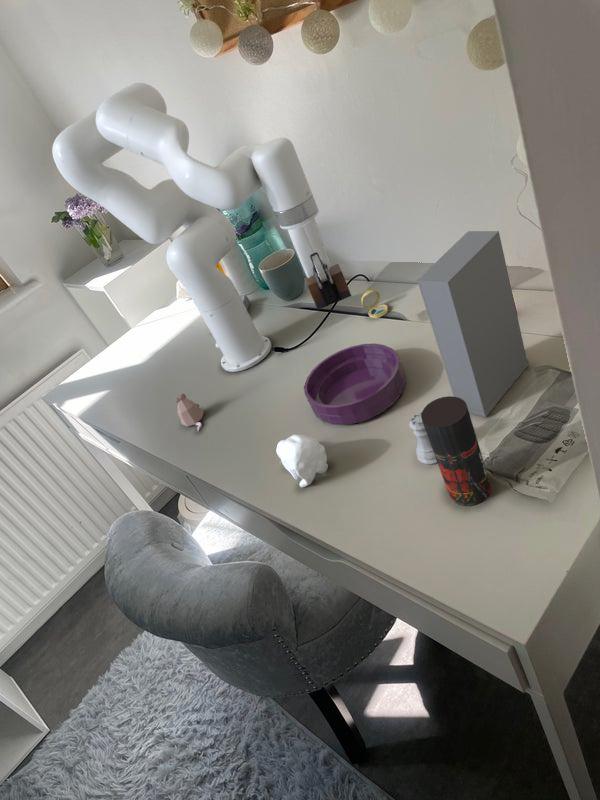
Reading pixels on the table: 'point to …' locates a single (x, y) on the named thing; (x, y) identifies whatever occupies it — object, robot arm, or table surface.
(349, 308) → the table surface
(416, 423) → the rook chess piece
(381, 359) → the bowl
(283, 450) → the white lumpy piece
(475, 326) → the upright grey slab
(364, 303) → the eyeshadow
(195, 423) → the mouse figurine
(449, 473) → the deodorant
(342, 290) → the brown rectangular block
